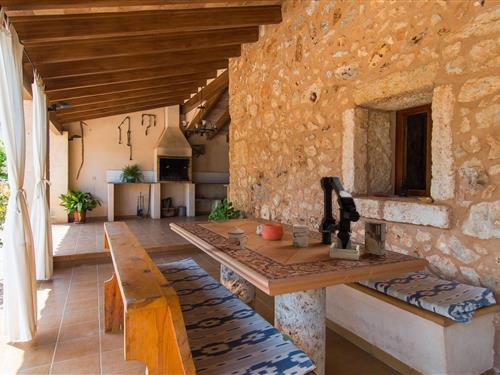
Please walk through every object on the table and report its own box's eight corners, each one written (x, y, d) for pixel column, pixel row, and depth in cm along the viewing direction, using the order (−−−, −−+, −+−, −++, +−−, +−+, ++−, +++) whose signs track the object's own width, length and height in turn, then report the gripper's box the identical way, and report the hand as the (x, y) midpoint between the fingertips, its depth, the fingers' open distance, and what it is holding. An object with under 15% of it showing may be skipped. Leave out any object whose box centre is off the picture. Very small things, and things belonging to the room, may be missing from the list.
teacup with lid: (225, 248, 173) (225, 227, 173) (231, 245, 182) (231, 225, 181) (246, 250, 169) (246, 228, 169) (251, 247, 178) (251, 226, 178)
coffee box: (386, 253, 166) (386, 222, 166) (381, 255, 162) (382, 224, 161) (368, 250, 173) (369, 221, 172) (363, 252, 168) (364, 222, 167)
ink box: (292, 246, 182) (292, 225, 182) (293, 244, 187) (293, 224, 187) (307, 247, 180) (307, 226, 180) (307, 245, 185) (308, 225, 184)
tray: (332, 252, 166) (332, 248, 166) (359, 255, 162) (359, 250, 162) (329, 257, 157) (329, 252, 157) (358, 260, 152) (358, 255, 152)
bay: (332, 247, 180) (333, 242, 180) (359, 249, 175) (359, 244, 175) (329, 252, 168) (330, 247, 168) (358, 254, 163) (358, 250, 162)
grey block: (338, 250, 172) (338, 236, 172) (351, 251, 170) (351, 237, 170) (337, 252, 168) (337, 238, 168) (351, 253, 165) (351, 239, 165)
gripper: (331, 216, 180) (331, 244, 180) (327, 220, 162) (326, 251, 163) (352, 217, 176) (351, 245, 176) (349, 222, 158) (349, 253, 159)
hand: (344, 248), depth 169 cm, fingers closed on grey block, 5 cm apart
